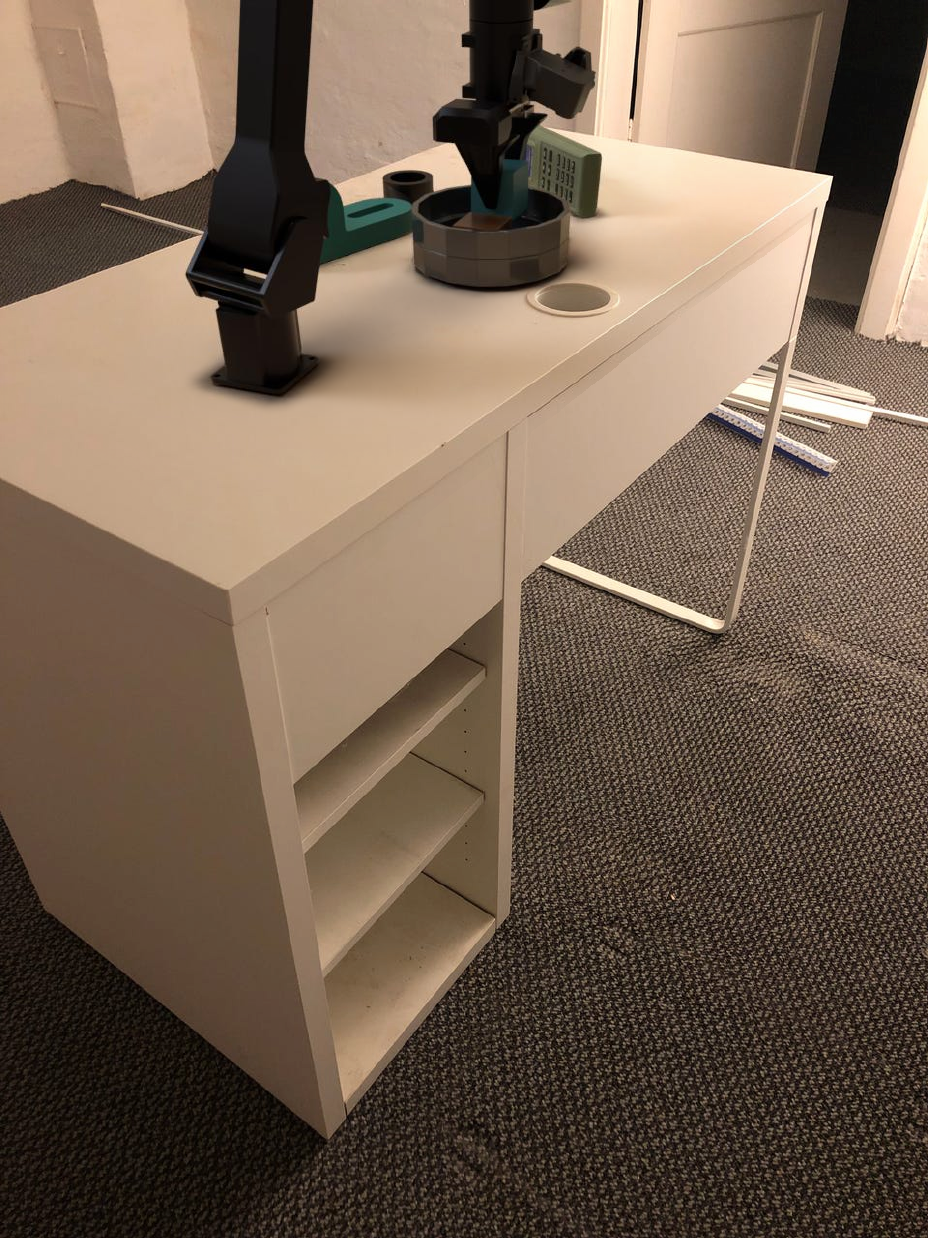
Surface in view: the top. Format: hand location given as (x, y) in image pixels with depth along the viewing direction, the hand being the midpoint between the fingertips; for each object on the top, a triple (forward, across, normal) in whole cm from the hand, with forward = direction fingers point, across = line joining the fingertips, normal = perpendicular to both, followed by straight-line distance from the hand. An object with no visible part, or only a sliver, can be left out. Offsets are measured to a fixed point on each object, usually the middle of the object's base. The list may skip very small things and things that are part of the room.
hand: (499, 201), depth 98 cm
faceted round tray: (+5, -2, 0) cm, 6 cm away
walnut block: (+5, -5, 0) cm, 7 cm away
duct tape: (+6, +13, +16) cm, 21 cm away
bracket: (+6, -2, +17) cm, 18 cm away
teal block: (+1, 0, 0) cm, 1 cm away
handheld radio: (+5, +24, +4) cm, 25 cm away
